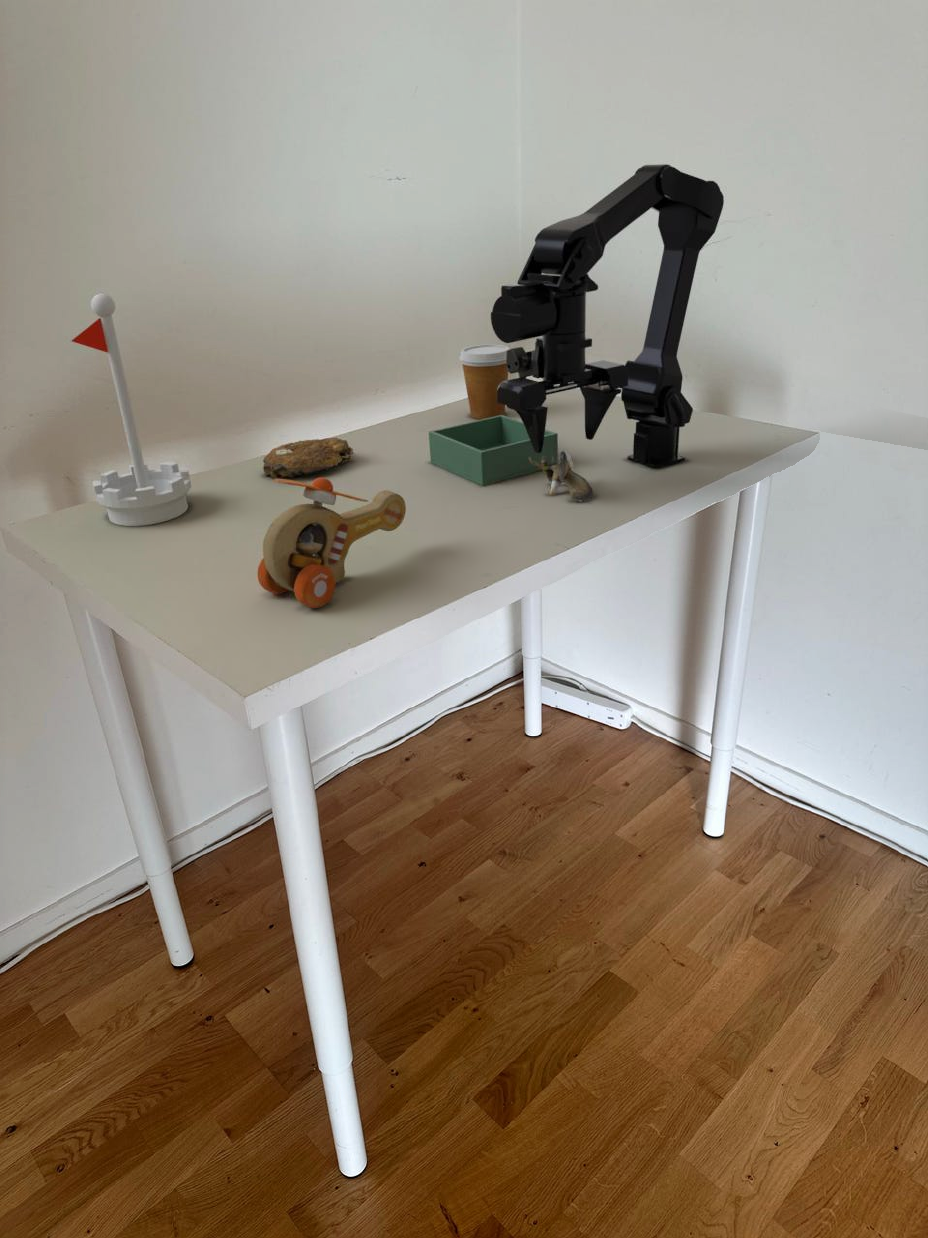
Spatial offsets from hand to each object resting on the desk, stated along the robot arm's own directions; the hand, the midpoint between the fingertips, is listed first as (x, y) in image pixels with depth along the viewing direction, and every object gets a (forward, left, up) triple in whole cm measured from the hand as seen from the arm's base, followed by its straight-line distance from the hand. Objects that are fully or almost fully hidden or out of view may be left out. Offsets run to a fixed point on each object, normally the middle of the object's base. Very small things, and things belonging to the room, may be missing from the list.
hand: (564, 445), depth 127 cm
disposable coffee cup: (-16, -42, -7) cm, 45 cm away
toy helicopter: (+39, +6, -7) cm, 40 cm away
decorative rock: (+23, -36, -7) cm, 43 cm away
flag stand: (+50, -33, -7) cm, 60 cm away
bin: (0, -17, -7) cm, 19 cm away
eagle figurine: (0, 0, -7) cm, 7 cm away
